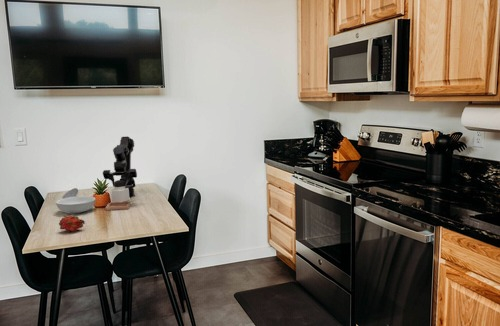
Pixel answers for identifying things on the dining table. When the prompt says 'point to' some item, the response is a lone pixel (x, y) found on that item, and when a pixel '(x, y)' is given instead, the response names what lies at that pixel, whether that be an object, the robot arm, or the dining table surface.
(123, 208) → the terracotta tray
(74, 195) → the grey rounded lump
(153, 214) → the dining table surface
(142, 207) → the dining table surface
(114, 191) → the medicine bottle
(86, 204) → the serving bowl
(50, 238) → the dining table surface
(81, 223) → the dragon fruit
